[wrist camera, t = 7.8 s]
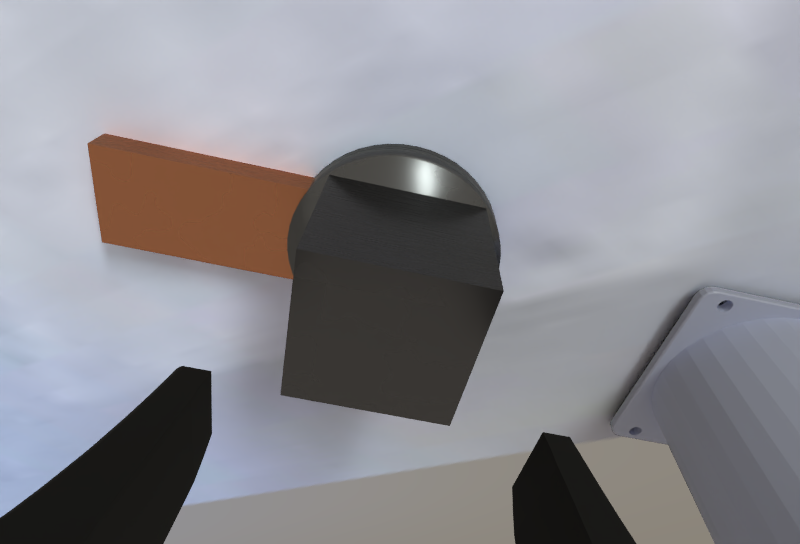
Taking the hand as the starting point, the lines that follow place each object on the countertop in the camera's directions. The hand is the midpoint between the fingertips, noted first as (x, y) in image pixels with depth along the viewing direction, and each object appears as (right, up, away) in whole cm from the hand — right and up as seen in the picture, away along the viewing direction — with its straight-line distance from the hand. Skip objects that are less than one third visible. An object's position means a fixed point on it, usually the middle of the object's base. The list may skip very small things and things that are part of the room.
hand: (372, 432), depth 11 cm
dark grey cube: (0, +4, +6) cm, 7 cm away
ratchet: (-3, +5, +7) cm, 9 cm away
